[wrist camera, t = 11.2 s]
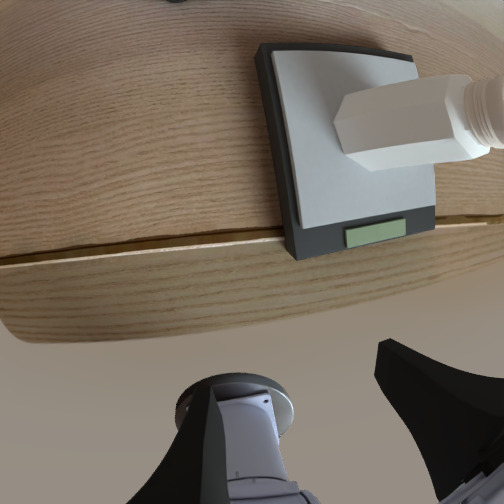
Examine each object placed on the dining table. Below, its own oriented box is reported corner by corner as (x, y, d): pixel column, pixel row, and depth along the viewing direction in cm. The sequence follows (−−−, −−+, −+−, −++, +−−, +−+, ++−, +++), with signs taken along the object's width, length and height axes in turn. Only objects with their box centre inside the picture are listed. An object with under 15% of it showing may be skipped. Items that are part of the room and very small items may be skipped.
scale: (417, 223, 21) (440, 230, 18) (286, 251, 20) (299, 264, 17) (395, 62, 17) (416, 53, 14) (253, 56, 16) (261, 39, 13)
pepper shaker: (414, 140, 16) (551, 142, 5) (367, 188, 16) (520, 222, 6) (368, 75, 14) (501, 23, 4) (314, 119, 15) (460, 66, 4)
